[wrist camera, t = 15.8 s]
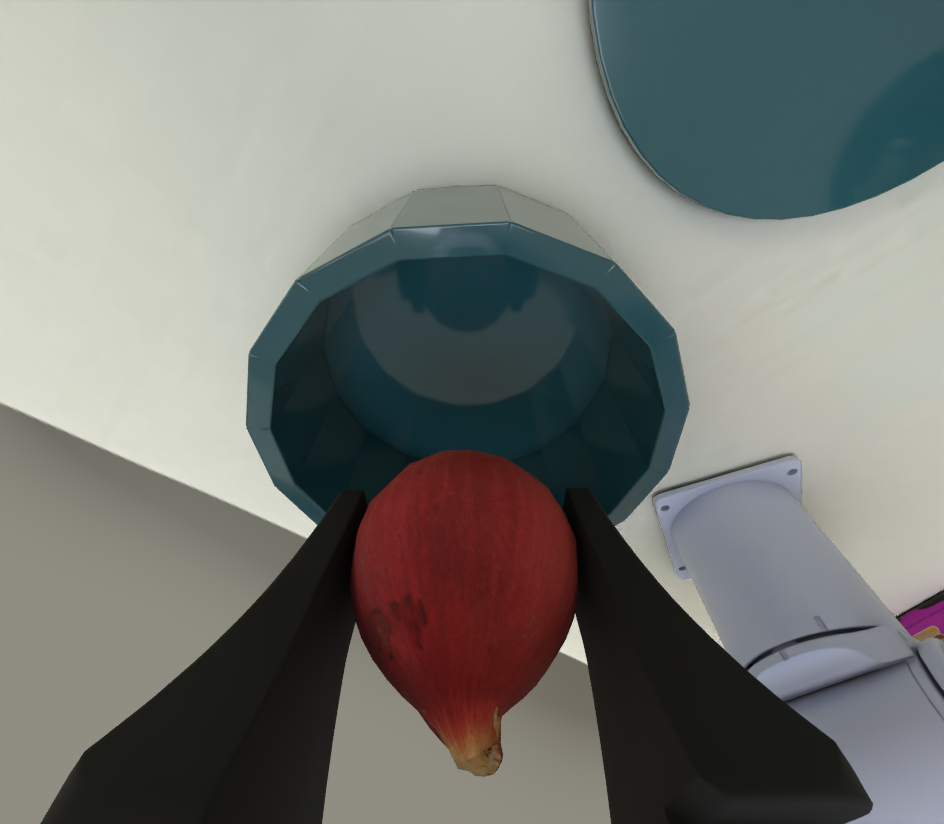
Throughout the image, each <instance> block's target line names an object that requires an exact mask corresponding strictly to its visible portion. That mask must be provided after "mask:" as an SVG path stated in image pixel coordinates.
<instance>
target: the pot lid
mask: <svg viewBox="0 0 944 824" xmlns="http://www.w3.org/2000/svg"><path fill="white" fill-rule="evenodd" d="M588 6H589V18H590V24H591V30H592V36H593V42H594V48H595V54H596V60H597V63H598V67H599V70H600V74H601V77H602V81H603V84H604V88H605V91H606V95H607V97H608V99H609V102H610V104H611V106H612V109H613V111H614V113H615V116H616V118H617V120H618V123H619V125H620V127H621V129H622V130H623V132H624V134H625V135H626V137H627V138H628V140H629V142H630V143H631V145H632V147H633V148H634V150H635V151H636V153H637V154H638V155H639V157H640V158H641V159H642V160H643V161H644V162H645V163H646V165H647V166H648V167H649V168H650V169H651V170H652V172H653V173H654V174H655V175H656V176H657V177H659V178H660V179H661V180H662V181H664V182H665V183H666V184H667V185H668V186H670V187H671V188H672V189H673V190H675V191H676V192H677V193H679V194H681V195H683V196H685V197H686V198H688V199H690V200H692V201H694V202H695V203H697V204H699V205H702V206H704V207H707V208H710V209H713V210H716V211H719V212H722V213H724V214H727V215H733V216H739V217H744V218H750V219H778V220H783V219H791V218H799V217H807V216H814V215H818V214H822V213H826V212H830V211H834V210H838V209H842V208H845V207H848V206H851V205H854V204H856V203H859V202H862V201H865V200H867V199H870V198H873V197H876V196H878V195H880V194H882V193H884V192H887V191H889V190H891V189H893V188H895V187H897V186H899V185H901V184H903V183H906V182H908V181H910V180H912V179H914V178H915V177H917V176H919V175H920V174H922V173H924V172H926V171H927V170H929V169H931V168H932V167H934V166H936V165H938V164H939V163H941V162H943V161H944V0H588Z"/></svg>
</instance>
